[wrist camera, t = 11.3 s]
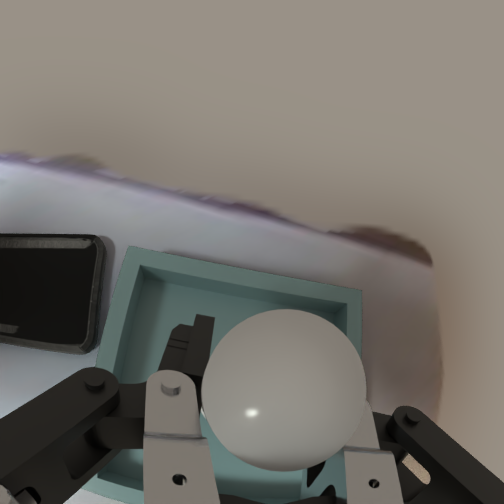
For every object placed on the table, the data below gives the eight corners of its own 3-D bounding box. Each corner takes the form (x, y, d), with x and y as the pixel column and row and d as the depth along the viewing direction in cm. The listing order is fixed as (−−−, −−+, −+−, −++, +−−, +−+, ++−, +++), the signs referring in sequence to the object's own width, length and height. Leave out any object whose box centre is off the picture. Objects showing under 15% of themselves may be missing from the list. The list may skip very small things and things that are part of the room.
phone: (-45, 233, 16) (106, 234, 19) (-38, 240, 17) (109, 242, 20) (-67, 325, 12) (92, 356, 15) (-59, 329, 13) (97, 359, 16)
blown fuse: (192, 423, 13) (190, 462, 5) (203, 359, 15) (218, 295, 6) (259, 432, 14) (357, 469, 5) (268, 370, 15) (369, 320, 7)
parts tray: (92, 477, 12) (78, 487, 10) (135, 264, 19) (128, 245, 17) (325, 507, 13) (342, 518, 11) (344, 303, 20) (361, 290, 18)
